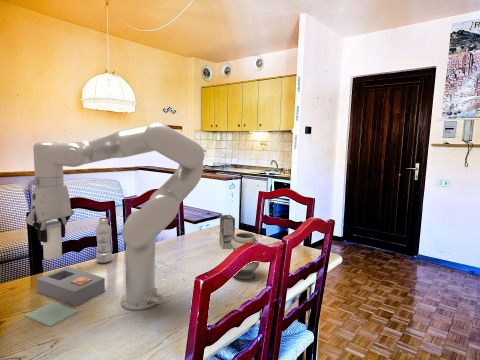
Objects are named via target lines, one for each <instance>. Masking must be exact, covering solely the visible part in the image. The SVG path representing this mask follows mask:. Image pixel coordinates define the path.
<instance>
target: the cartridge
mask: <svg viewBox="0 0 480 360" xmlns="http://www.w3.org/2000/svg"><path fill="white" fill-rule="evenodd" d="M45 230H47V242H45V243H44V242H42V248H43V249H42V250H43V259H44V260H57V259H59V258H61V257H62V256H63V246H62V245H63V244H62V242H63V241H62V237H61V222H60V221H57V220H47V221H46V225H45Z"/></svg>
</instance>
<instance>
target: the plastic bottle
mask: <svg viewBox="0 0 480 360" xmlns="http://www.w3.org/2000/svg"><path fill="white" fill-rule="evenodd" d="M108 223H109V217H99V218H98V225H97V226H96V228H95V236H96V242H97V243H96V244H97V245H96V246H97V247H96V248H97V249H96V256H95V258H96V261H97V262H98V263H99V264H100V263H101V264H104V263H105V264H106V263H109V262H111V260H112V259H113V252H112V247H111V236H112V227H111V225H109V224H108Z"/></svg>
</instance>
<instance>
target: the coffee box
mask: <svg viewBox="0 0 480 360" xmlns="http://www.w3.org/2000/svg"><path fill="white" fill-rule="evenodd" d="M235 227H236V218H235V217H234V216H233V215H232V214H221V215H220V216H219V239H218V240H219V241H218V242H219V245H220V247H221V248H222V249H223V250H226V249H233V248H232V247H231V241H232V240H233V239H234V238H235V234H236V233H235V232H236V230H235V229H236V228H235Z"/></svg>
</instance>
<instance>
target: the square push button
mask: <svg viewBox="0 0 480 360" xmlns="http://www.w3.org/2000/svg"><path fill="white" fill-rule="evenodd" d="M90 281H91V280H90V279H87V277H79V278H77V279H76V280H74V281H72V284H75V285H78V286H81V285H84V284H86V283H88V282H90Z"/></svg>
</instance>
